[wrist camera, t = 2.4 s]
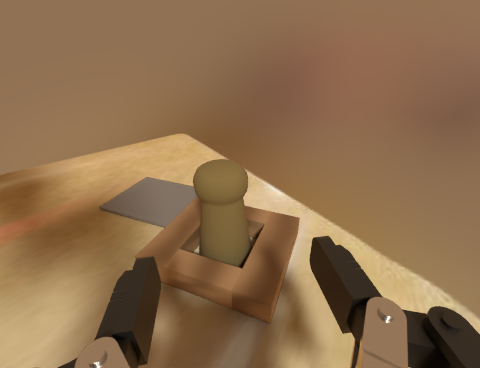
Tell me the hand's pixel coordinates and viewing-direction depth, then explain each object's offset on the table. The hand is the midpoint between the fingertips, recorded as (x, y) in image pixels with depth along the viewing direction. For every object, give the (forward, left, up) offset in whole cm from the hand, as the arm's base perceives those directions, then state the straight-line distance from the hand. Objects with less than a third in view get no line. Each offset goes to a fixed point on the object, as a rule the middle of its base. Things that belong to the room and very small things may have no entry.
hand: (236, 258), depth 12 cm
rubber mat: (-21, +16, -11) cm, 28 cm away
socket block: (-6, +10, -11) cm, 16 cm away
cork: (-6, +10, -11) cm, 16 cm away
